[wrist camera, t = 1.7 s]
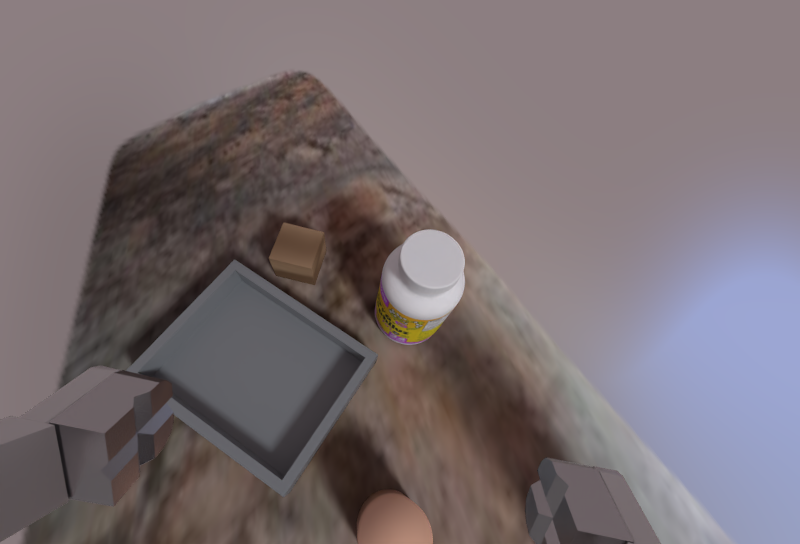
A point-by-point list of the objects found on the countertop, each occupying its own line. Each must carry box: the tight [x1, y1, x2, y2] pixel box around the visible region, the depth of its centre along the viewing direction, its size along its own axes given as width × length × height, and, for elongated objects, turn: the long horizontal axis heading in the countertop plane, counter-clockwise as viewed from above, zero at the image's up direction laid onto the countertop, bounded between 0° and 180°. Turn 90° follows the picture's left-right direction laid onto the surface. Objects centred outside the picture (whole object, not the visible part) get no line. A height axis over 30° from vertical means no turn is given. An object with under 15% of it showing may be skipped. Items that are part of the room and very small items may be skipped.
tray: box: [126, 259, 378, 497], centre depth 33 cm, size 13×16×3 cm
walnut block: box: [269, 222, 326, 285], centre depth 37 cm, size 4×4×4 cm
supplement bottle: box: [375, 230, 465, 345], centre depth 32 cm, size 7×7×13 cm
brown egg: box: [356, 489, 433, 544], centre depth 28 cm, size 5×5×6 cm
